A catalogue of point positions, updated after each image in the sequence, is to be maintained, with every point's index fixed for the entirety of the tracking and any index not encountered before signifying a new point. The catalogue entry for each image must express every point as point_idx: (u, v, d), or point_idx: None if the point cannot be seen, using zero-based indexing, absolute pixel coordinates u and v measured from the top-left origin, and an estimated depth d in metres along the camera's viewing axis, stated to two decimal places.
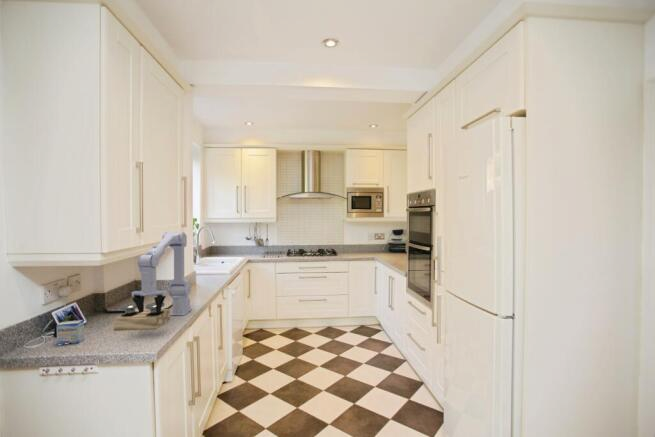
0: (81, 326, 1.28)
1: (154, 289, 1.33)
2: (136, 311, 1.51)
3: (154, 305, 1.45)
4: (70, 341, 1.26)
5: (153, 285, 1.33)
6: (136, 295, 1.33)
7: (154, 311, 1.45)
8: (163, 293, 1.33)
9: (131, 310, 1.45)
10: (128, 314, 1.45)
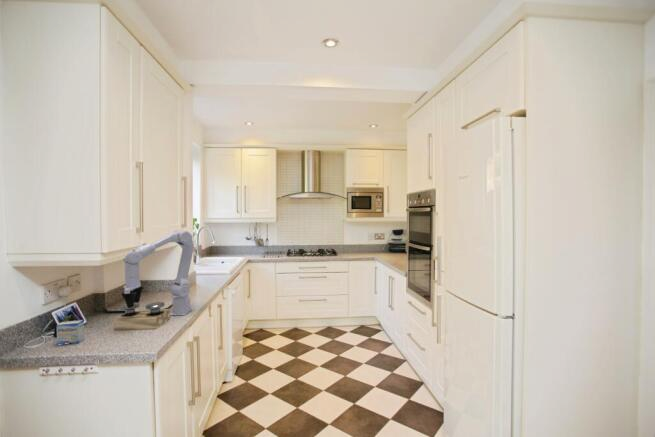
0: (81, 326, 1.28)
1: (128, 284, 1.41)
2: (136, 311, 1.51)
3: (154, 305, 1.45)
4: (70, 341, 1.26)
5: (127, 280, 1.41)
6: None
7: (154, 311, 1.45)
8: None
9: (131, 310, 1.45)
10: (128, 314, 1.45)
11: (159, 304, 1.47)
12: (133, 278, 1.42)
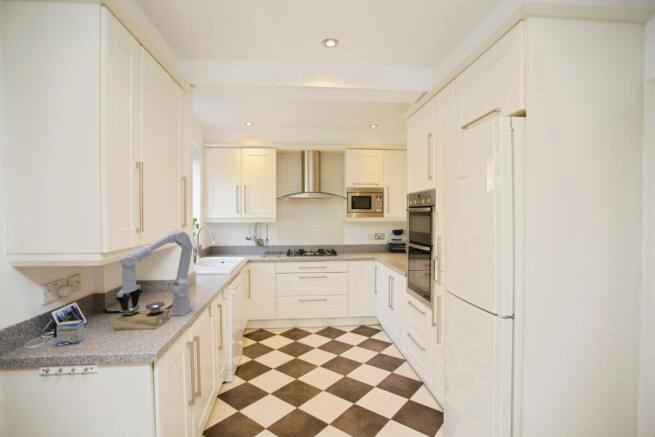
0: (81, 326, 1.28)
1: (124, 288, 1.43)
2: (136, 311, 1.51)
3: (154, 305, 1.45)
4: (70, 341, 1.26)
5: (123, 284, 1.44)
6: None
7: (154, 311, 1.45)
8: None
9: (131, 312, 1.45)
10: None
11: (159, 304, 1.47)
12: (128, 281, 1.44)
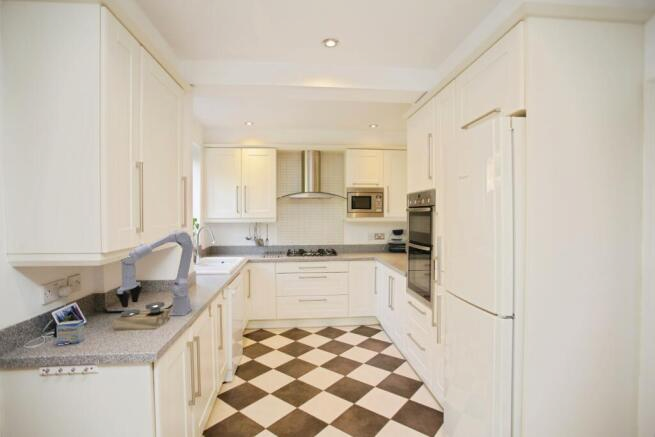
0: (81, 326, 1.28)
1: (124, 285, 1.43)
2: None
3: (154, 305, 1.45)
4: (70, 341, 1.26)
5: (123, 281, 1.44)
6: None
7: (154, 311, 1.45)
8: None
9: None
10: None
11: (159, 304, 1.47)
12: (128, 278, 1.44)
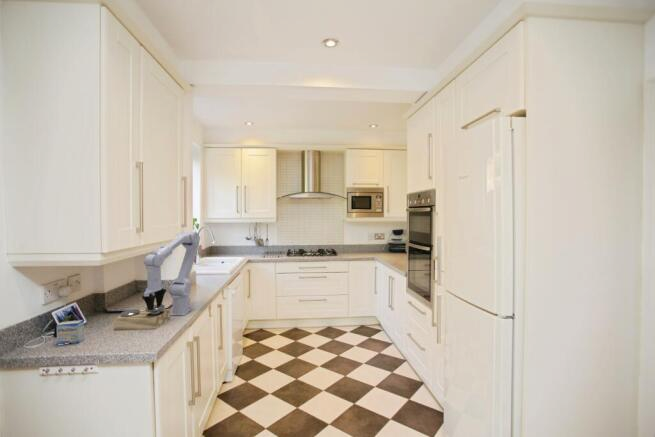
0: (81, 326, 1.28)
1: (149, 287, 1.44)
2: None
3: (154, 307, 1.45)
4: (70, 341, 1.26)
5: (149, 283, 1.44)
6: None
7: (154, 313, 1.45)
8: None
9: None
10: None
11: (159, 306, 1.47)
12: (154, 281, 1.44)
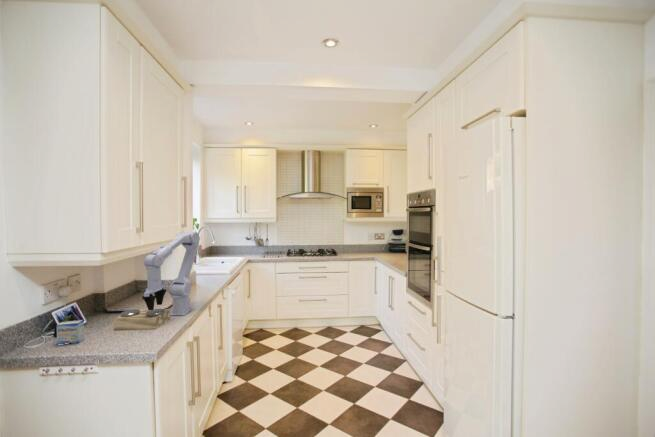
0: (81, 326, 1.28)
1: (149, 287, 1.44)
2: None
3: (154, 312, 1.45)
4: (70, 341, 1.26)
5: (149, 283, 1.44)
6: None
7: None
8: None
9: None
10: None
11: (159, 311, 1.47)
12: (154, 281, 1.44)
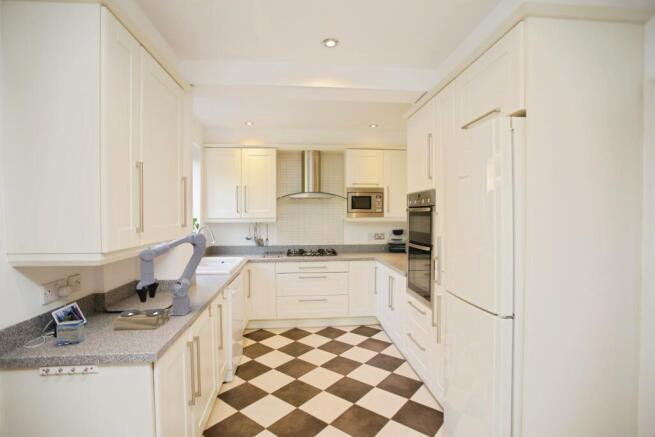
0: (81, 326, 1.28)
1: (142, 280, 1.48)
2: None
3: (154, 312, 1.45)
4: (70, 341, 1.26)
5: (142, 277, 1.49)
6: None
7: None
8: None
9: None
10: None
11: (159, 311, 1.47)
12: (146, 274, 1.49)
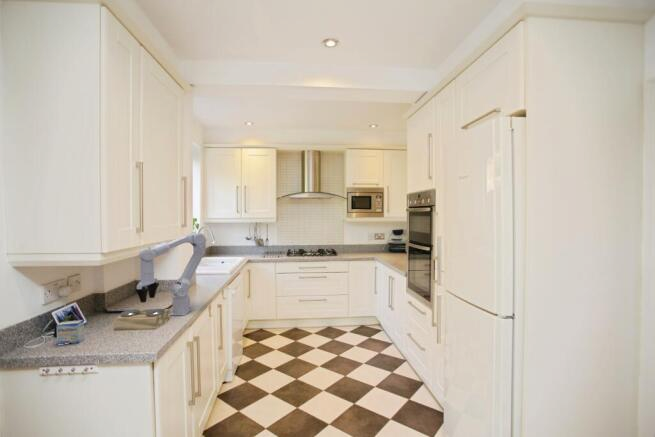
0: (81, 326, 1.28)
1: (142, 280, 1.48)
2: None
3: (154, 312, 1.45)
4: (70, 341, 1.26)
5: (142, 277, 1.49)
6: None
7: None
8: None
9: None
10: None
11: (159, 311, 1.47)
12: (146, 274, 1.49)
